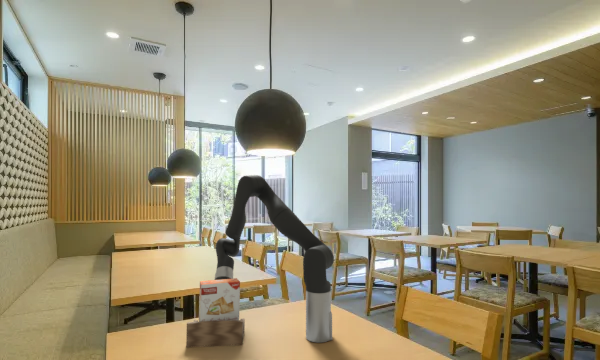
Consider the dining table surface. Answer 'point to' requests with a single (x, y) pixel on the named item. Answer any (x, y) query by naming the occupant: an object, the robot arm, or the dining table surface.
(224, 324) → the walnut rack
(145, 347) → the dining table surface
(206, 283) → the cracker box
